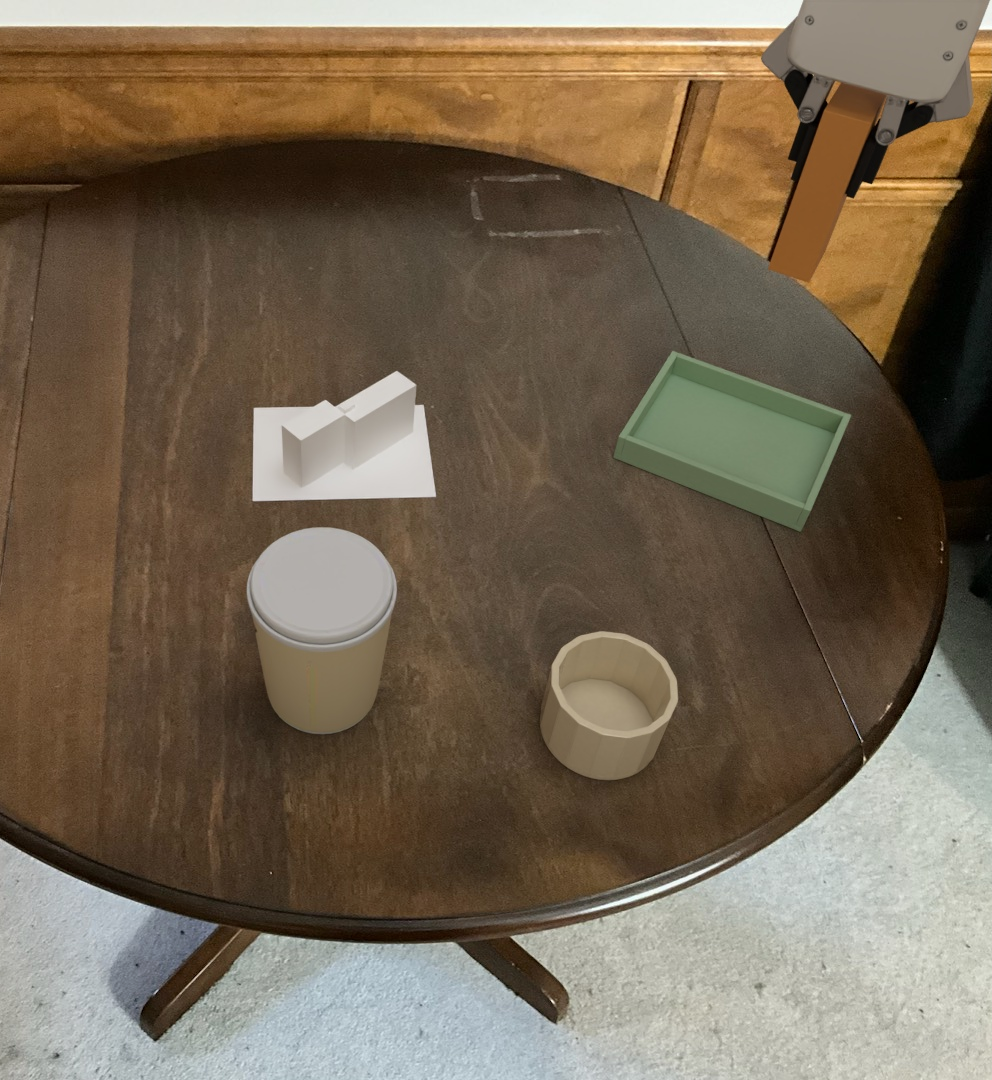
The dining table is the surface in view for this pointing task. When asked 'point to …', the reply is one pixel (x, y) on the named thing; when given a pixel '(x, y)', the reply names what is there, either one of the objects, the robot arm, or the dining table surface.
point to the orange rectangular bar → (825, 180)
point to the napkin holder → (345, 447)
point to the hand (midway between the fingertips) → (827, 177)
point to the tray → (733, 439)
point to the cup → (607, 705)
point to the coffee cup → (321, 626)
